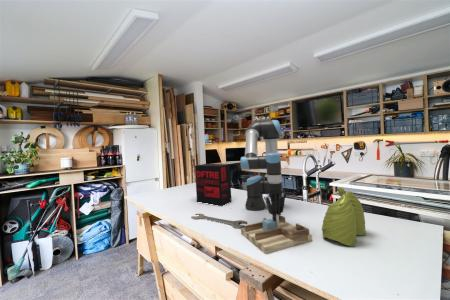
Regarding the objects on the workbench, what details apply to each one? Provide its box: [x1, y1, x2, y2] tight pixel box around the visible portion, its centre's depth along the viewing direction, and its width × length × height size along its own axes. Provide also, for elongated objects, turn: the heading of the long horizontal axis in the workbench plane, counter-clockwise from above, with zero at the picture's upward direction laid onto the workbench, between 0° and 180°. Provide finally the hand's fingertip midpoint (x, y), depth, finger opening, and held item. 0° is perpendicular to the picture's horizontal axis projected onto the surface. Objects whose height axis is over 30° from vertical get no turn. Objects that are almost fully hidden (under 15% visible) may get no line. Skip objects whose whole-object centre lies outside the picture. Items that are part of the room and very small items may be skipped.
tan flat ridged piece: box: [240, 214, 313, 254], centre depth 112 cm, size 24×27×6 cm
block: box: [261, 218, 276, 231], centre depth 114 cm, size 5×5×5 cm
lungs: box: [321, 187, 367, 247], centre depth 109 cm, size 25×16×24 cm, turn 131°
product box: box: [194, 163, 232, 207], centre depth 184 cm, size 26×14×32 cm, turn 54°
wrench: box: [191, 213, 248, 230], centre depth 140 cm, size 42×10×2 cm, turn 56°
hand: (276, 226), depth 114 cm, fingers closed
